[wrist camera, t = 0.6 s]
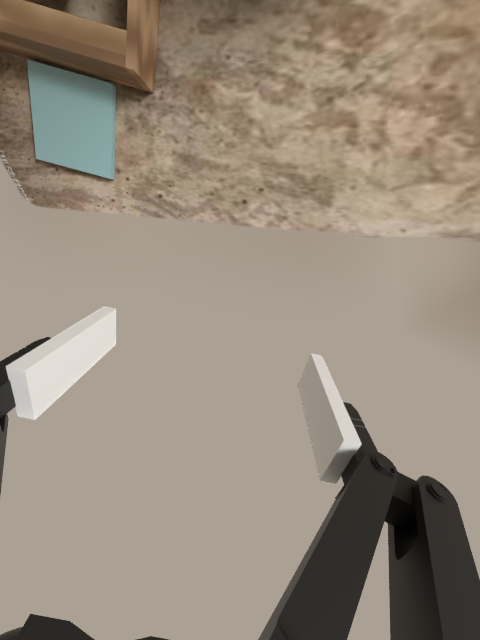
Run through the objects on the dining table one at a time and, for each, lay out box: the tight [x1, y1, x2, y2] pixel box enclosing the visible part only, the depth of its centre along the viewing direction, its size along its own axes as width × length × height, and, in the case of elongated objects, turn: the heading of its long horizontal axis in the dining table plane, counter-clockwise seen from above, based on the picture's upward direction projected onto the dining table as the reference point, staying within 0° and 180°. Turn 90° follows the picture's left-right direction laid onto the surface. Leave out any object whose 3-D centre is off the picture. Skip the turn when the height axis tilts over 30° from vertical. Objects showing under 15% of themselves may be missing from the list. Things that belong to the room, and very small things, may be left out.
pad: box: [27, 59, 116, 180], centre depth 33 cm, size 11×11×1 cm
